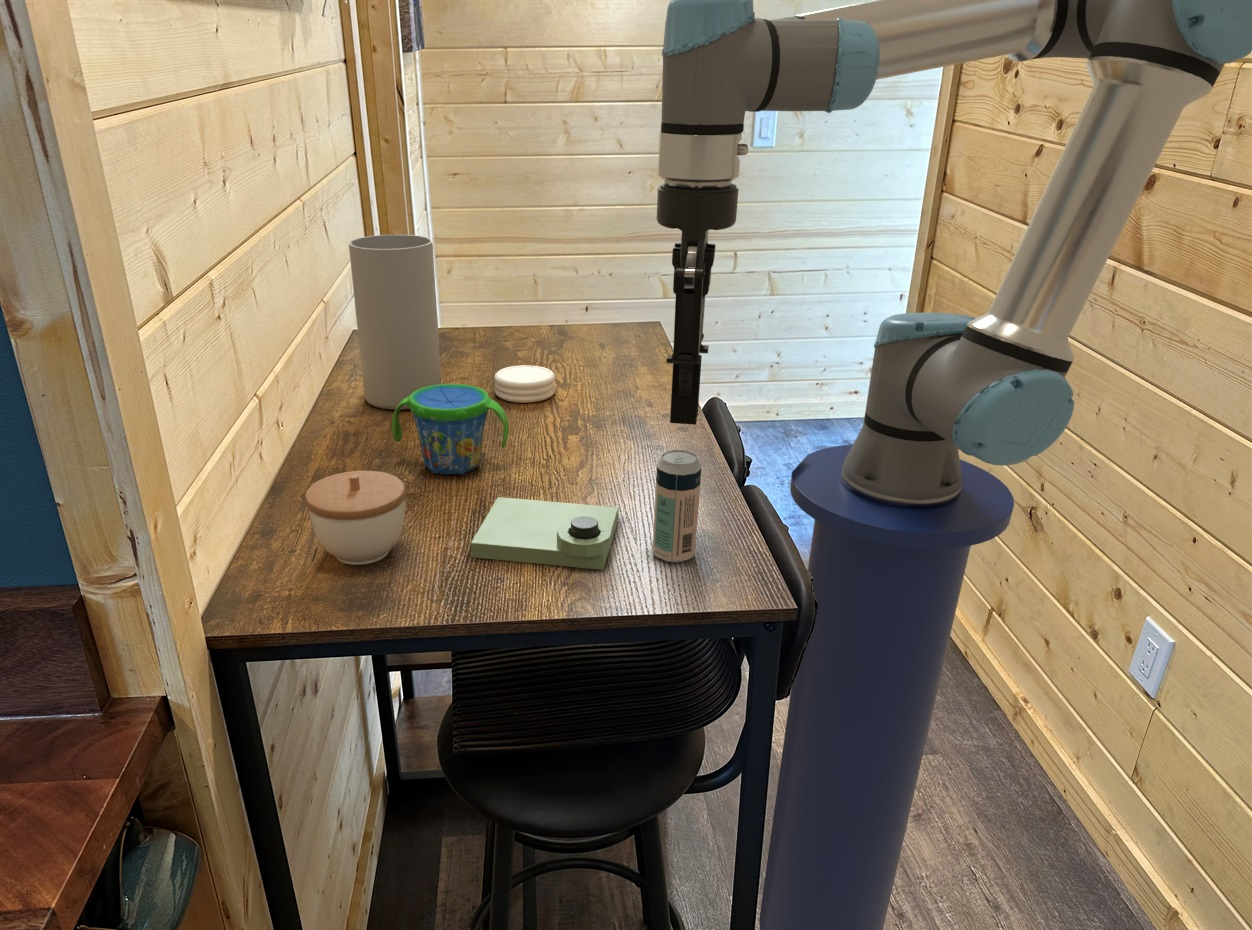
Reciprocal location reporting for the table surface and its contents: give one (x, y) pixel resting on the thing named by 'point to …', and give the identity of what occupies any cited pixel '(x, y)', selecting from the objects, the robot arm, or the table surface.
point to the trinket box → (357, 514)
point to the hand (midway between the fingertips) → (684, 418)
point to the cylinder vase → (395, 316)
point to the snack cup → (450, 425)
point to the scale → (544, 533)
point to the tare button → (584, 528)
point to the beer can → (676, 505)
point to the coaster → (524, 383)
